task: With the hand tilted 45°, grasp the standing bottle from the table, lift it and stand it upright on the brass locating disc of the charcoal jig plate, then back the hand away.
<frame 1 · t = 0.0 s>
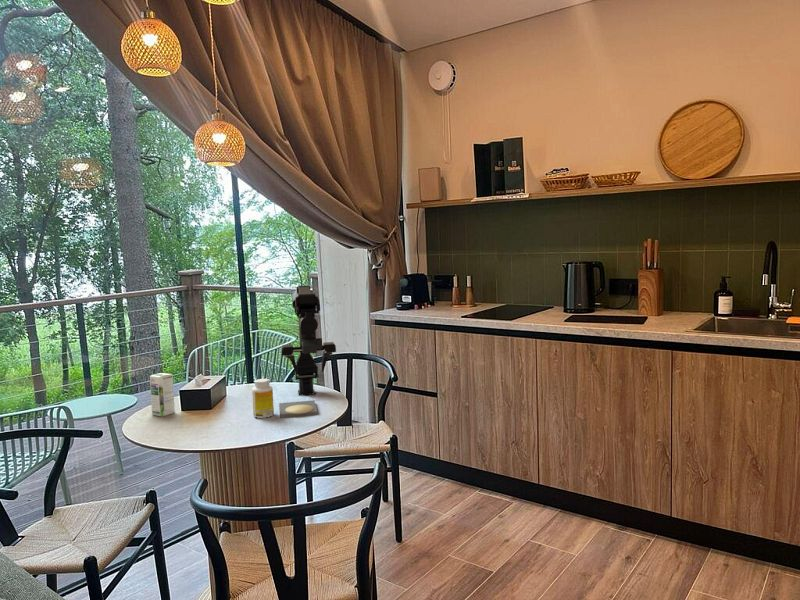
hand: (309, 372, 205), 15 cm above the table, tool pointing down, fingers open, 9 cm apart
syrup box: (163, 414, 211), on the table
jig plate: (297, 410, 211), on the table
supplement bottle: (263, 416, 205), on the table
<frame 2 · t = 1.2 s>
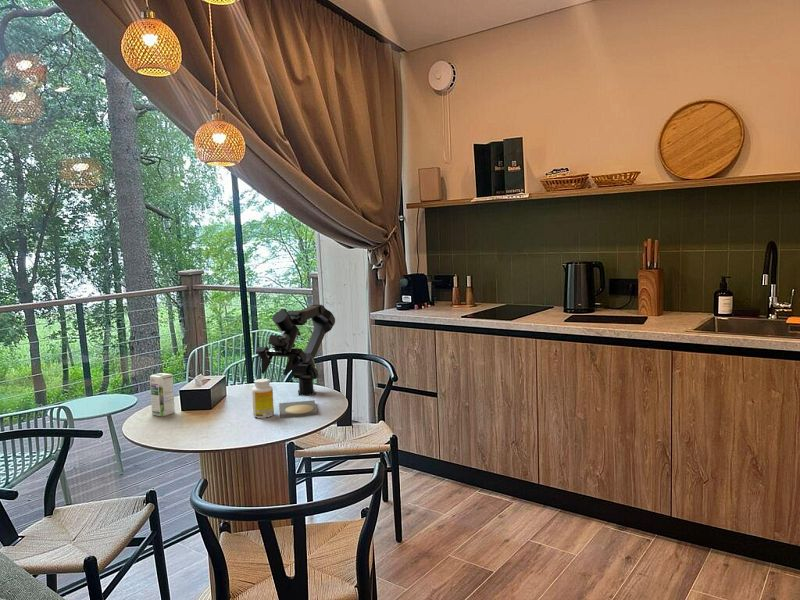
hand: (273, 374, 211), 13 cm above the table, tool tilted 45°, fingers open, 9 cm apart
nothing on the table moved.
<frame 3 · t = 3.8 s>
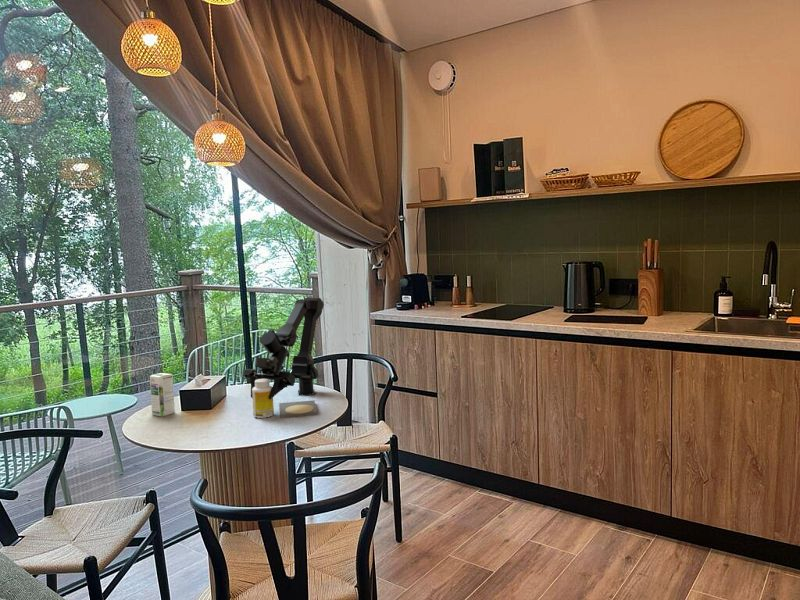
hand: (260, 398, 203), 7 cm above the table, tool tilted 45°, fingers closed on supplement bottle, 7 cm apart
supplement bottle: (263, 416, 205), on the table, touching gripper
everything else where it was.
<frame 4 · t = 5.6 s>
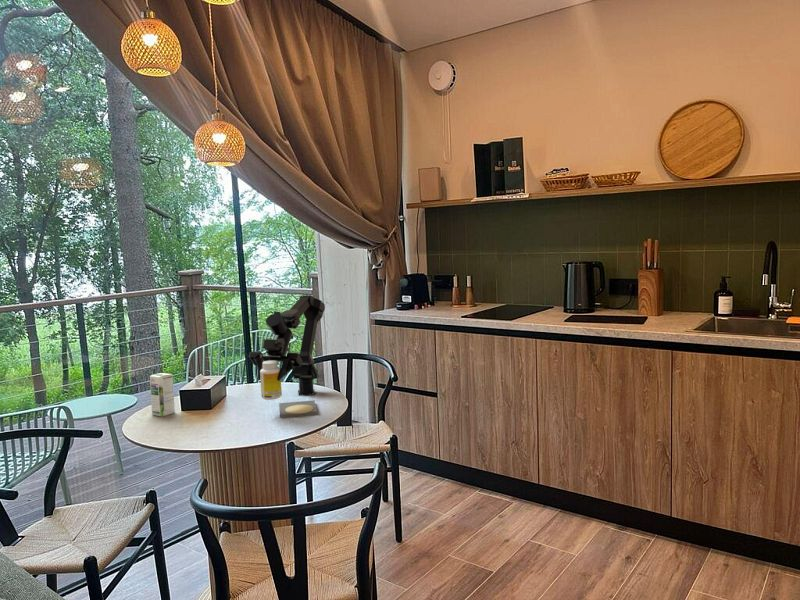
hand: (268, 379, 203), 13 cm above the table, tool tilted 45°, fingers closed on supplement bottle, 7 cm apart
supplement bottle: (271, 398, 205), point 6 cm above the table, touching gripper
everything else where it was.
when the fingers open (9 cm above the table, at t = 7.8 s): supplement bottle drops 1 cm, resting on jig plate.
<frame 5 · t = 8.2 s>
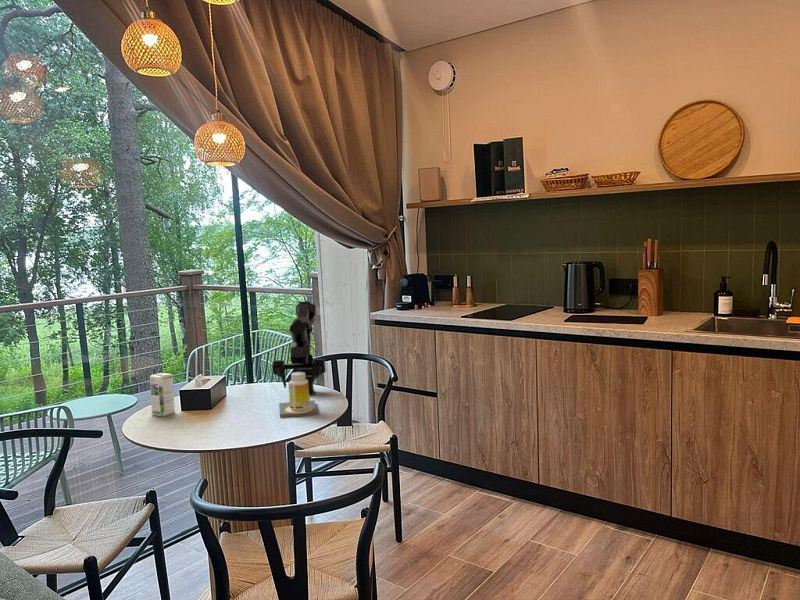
hand: (298, 387, 206), 10 cm above the table, tool tilted 45°, fingers open, 9 cm apart
supplement bottle: (299, 409, 208), point 1 cm above the table, touching jig plate
everything else where it was.
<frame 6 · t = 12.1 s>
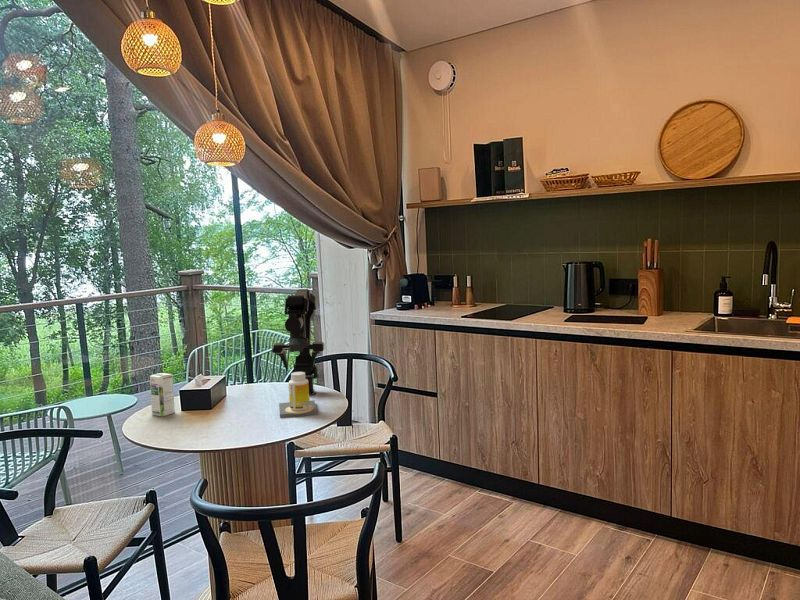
hand: (299, 369, 218), 13 cm above the table, tool pointing down, fingers open, 9 cm apart
nothing on the table moved.
at the end: supplement bottle 0.2 cm from the target spot on the jig plate, point 1.3 cm above the jig plate's base; supplement bottle tilted 0°; the gripper is holding nothing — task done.
